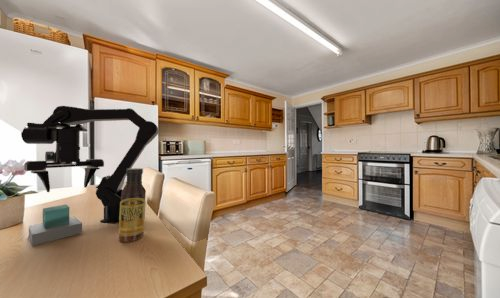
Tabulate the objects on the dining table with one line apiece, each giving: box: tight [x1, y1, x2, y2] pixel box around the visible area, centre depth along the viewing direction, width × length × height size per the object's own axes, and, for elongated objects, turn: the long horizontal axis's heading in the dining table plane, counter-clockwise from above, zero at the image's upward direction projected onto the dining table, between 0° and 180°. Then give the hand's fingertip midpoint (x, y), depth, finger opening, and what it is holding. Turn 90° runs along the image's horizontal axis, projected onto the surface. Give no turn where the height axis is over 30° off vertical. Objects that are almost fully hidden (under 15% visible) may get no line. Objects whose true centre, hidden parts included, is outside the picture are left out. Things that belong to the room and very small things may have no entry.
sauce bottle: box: [118, 167, 147, 243], centre depth 53 cm, size 7×6×20 cm
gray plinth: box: [28, 216, 83, 247], centre depth 56 cm, size 10×10×3 cm
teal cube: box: [42, 203, 70, 229], centre depth 56 cm, size 5×5×5 cm
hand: (67, 189), depth 64 cm, fingers open, 9 cm apart
